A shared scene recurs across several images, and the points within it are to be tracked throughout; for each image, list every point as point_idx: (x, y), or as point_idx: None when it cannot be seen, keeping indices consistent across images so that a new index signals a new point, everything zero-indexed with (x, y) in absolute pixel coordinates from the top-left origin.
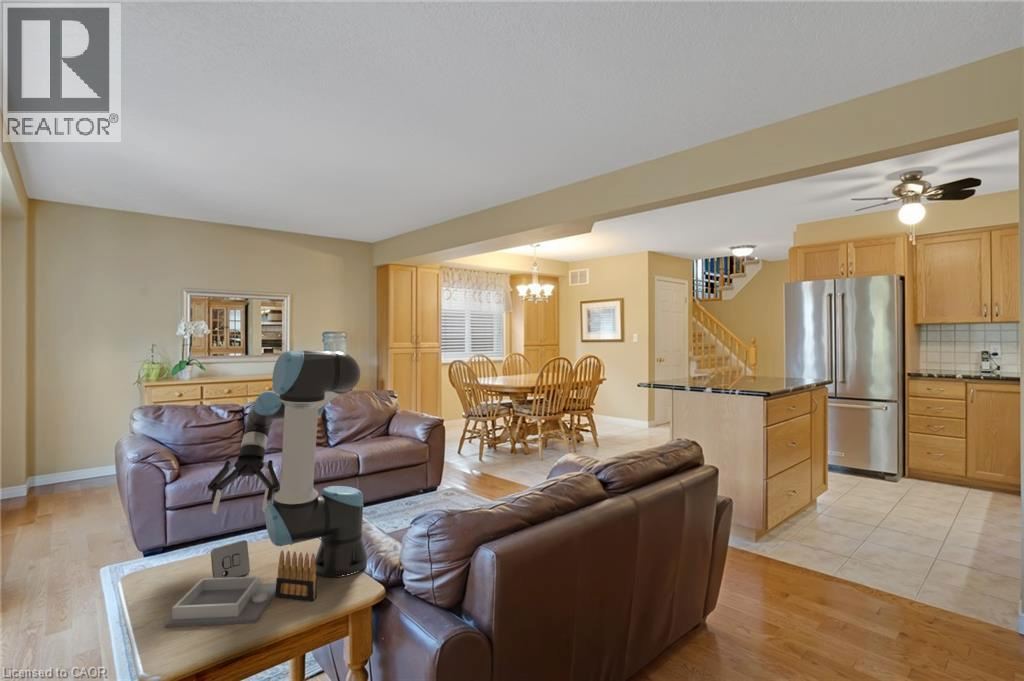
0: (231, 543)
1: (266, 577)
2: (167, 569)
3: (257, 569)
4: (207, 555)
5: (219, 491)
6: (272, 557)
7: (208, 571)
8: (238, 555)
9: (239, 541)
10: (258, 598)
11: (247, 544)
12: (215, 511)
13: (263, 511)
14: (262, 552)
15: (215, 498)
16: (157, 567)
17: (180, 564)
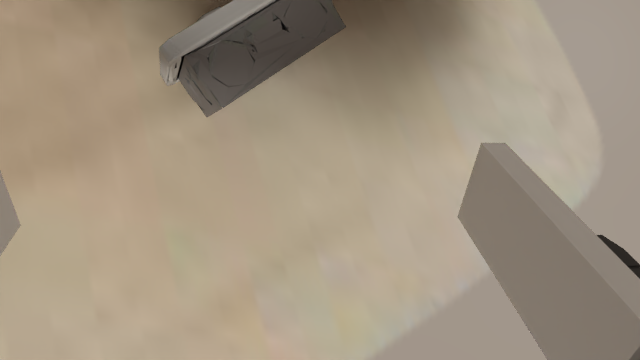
0: (244, 12)
1: (78, 20)
2: None
3: (135, 112)
4: (408, 320)
5: (624, 314)
6: (83, 241)
7: (345, 138)
8: (201, 17)
9: (202, 29)
10: None
11: (159, 50)
12: (471, 181)
13: (8, 210)
14: (148, 318)
15: (576, 223)
16: None
17: None
